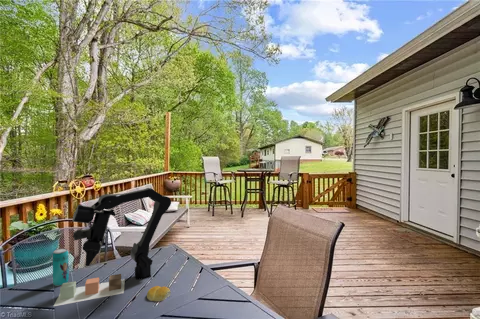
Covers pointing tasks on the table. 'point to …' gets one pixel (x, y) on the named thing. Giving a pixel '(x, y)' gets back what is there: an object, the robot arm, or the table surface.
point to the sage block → (68, 290)
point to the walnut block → (115, 282)
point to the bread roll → (158, 293)
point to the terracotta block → (92, 286)
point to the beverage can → (60, 267)
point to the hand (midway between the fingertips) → (88, 262)
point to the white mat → (82, 297)
